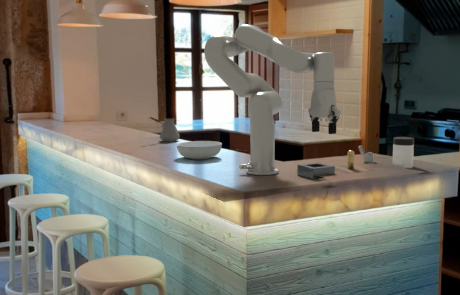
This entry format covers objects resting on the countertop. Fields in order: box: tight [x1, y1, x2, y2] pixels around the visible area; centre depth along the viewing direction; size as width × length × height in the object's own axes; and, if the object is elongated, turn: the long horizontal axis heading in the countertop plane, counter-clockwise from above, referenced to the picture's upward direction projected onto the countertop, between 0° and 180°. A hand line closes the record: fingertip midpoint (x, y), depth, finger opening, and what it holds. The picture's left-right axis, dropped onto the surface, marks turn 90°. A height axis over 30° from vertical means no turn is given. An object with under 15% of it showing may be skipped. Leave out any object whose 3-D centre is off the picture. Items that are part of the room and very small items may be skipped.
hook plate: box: [335, 164, 376, 174], centre depth 217 cm, size 14×14×1 cm
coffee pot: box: [148, 116, 181, 143], centre depth 312 cm, size 21×12×15 cm, turn 142°
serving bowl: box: [176, 140, 223, 161], centre depth 254 cm, size 21×21×7 cm
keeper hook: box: [347, 149, 356, 169], centre depth 217 cm, size 3×3×7 cm
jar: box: [392, 136, 415, 169], centre depth 227 cm, size 9×8×12 cm
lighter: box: [358, 144, 376, 163], centre depth 234 cm, size 7×2×8 cm, turn 51°
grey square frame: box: [296, 162, 336, 180], centre depth 209 cm, size 10×10×4 cm
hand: (323, 132), depth 204 cm, fingers open, 9 cm apart
